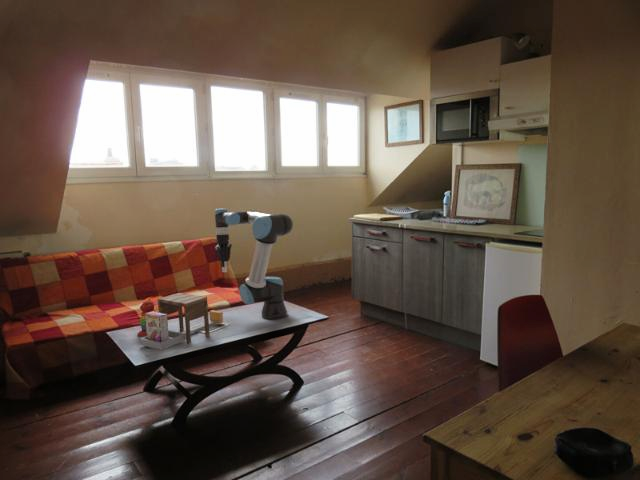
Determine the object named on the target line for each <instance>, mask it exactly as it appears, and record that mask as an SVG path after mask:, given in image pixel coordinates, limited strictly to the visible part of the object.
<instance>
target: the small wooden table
mask: <svg viewBox="0 0 640 480" xmlns="http://www.w3.org/2000/svg"><path fill="white" fill-rule="evenodd" d="M208 305H209V304H208V296H203V295H196V294H189V293H182V292H178V293H173V294H171V295H167V296H163V297H160V298H157V307H158V313H163V314H167V316H168V315H169V316H170V315H171V314H175V313H177V314H178V325H179V331H180V332H183V331H186V340H185V341H186V344H187V345H188V344H189V345H190V344H192V339H191V338H192V336H191V334H192V333H190V327H191V323H190V322H191V321H193V320H194V321H195V320H196V319H200V318H202V317H204V318H203V320H204V321H203V323H205V333H204V334H205V335H204V336H205V337H208V336H210V334H211V333H209V320H210V318H209V308H208V307H209V306H208ZM183 309H184V312H183ZM183 313H184V315H183ZM184 320H185V321H184ZM184 322H185V323H184ZM184 324H185V326H184ZM184 327H185V328H184Z"/></svg>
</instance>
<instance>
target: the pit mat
mask: <svg viewBox="0 0 640 480" xmlns="http://www.w3.org/2000/svg"><path fill="white" fill-rule="evenodd" d="M209 322H210V319H209ZM202 324H205V323H204V322H202V323H198V324H196V325H194V326H190V329H192V328H194V327H197V326H200V325H202ZM230 325H231V324H230V323H226V322H223V323H215V324H213V325H210V326H209V334H211V333H214V332H217V331H219V330H221V329H223V328H225V327H229V326H230ZM195 333H201V334H205V328H203V329H200V330H197V331H195Z"/></svg>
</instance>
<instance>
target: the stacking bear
mask: <svg viewBox="0 0 640 480" xmlns="http://www.w3.org/2000/svg"><path fill="white" fill-rule="evenodd" d="M155 305H156V304H155V302H154V301H152V300H151V299H148V300H145V301H143V302H142V303H141V305H139V309H140V311H141V314H140V319H139V324H140V325H139V326H140V328H141V330H140V331H138V333H137V335H138V336H137V337H146V336H147V331H146V320H145V314H146V313H148V312H152V311H154V312H156V311H155Z"/></svg>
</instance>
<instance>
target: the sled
mask: <svg viewBox="0 0 640 480" xmlns="http://www.w3.org/2000/svg"><path fill="white" fill-rule="evenodd" d="M209 320H210V322H209V326H210V325H213V324H215V323H224V315H223V311H218V310H213V309H211V310H210V311H209ZM203 328H205V324H202V325H200V326H197V327H194V328H192V329H190V333H191V334H192V333H194V332H195V333H196V331H197V330H200V329H203ZM168 332H169V340H166V341H164V342H161V343H160V342H156V341H152V340H148V339H147V336H142V337H141V338H139V339H140V342H139V343H140V345H141V346H145V347H148V348H152V349H156V350H160V351H162V350H165V349H167V348H170V347H172V346H175V345H177V344H180V343H182V342H184V341H187V340H186V330H183V331H180V332H179V331H174V330H170V329H168Z"/></svg>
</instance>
